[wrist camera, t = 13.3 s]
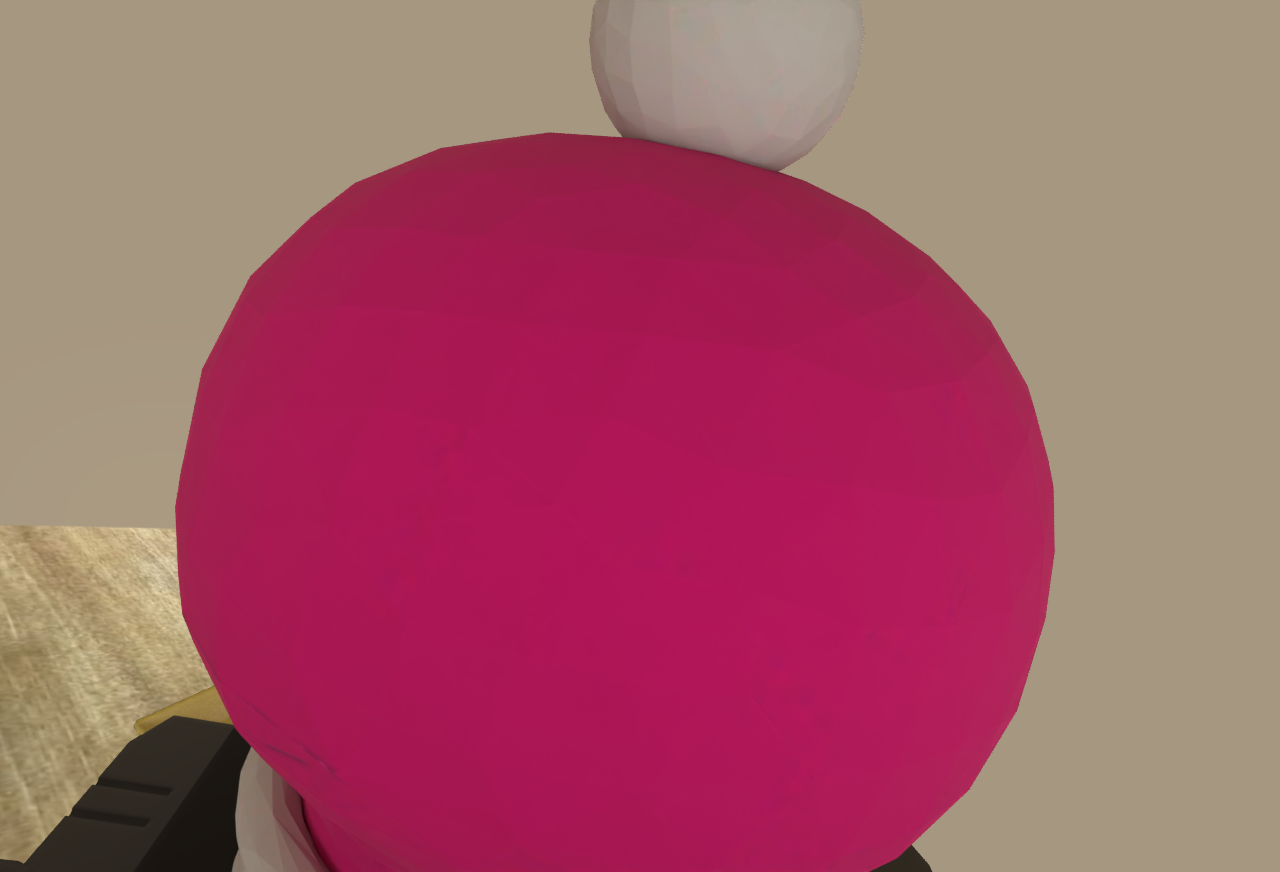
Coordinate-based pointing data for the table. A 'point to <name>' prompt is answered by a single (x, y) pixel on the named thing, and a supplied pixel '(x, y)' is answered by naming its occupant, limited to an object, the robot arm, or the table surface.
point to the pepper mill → (615, 494)
